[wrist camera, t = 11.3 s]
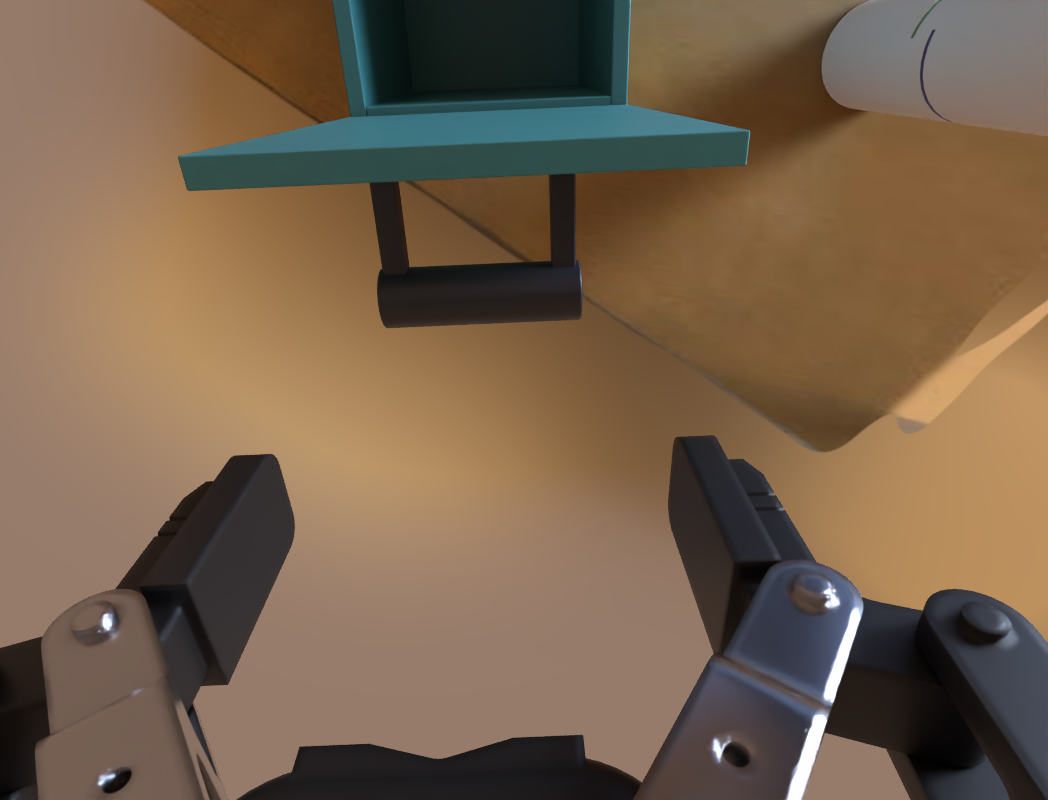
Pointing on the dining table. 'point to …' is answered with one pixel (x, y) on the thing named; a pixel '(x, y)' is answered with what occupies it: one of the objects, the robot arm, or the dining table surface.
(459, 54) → the teal open box
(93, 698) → the robot arm
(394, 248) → the cool box lid
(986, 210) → the dining table surface
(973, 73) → the cylindrical container
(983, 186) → the dining table surface
